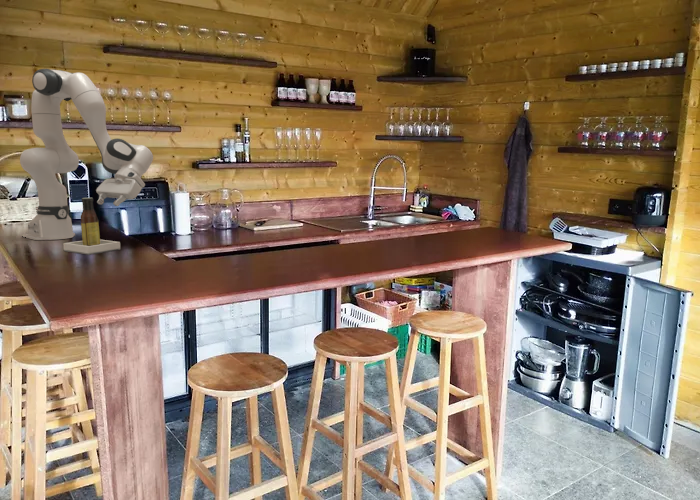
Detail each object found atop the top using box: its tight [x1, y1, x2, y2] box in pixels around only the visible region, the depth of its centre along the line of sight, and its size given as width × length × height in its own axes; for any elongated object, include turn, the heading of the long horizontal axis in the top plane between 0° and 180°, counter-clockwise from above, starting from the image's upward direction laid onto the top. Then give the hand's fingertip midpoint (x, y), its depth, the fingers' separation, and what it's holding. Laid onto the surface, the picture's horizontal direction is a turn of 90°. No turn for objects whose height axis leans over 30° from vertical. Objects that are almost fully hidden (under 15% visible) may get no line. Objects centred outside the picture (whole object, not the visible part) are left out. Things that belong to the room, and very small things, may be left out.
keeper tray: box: [62, 239, 121, 256], centre depth 225 cm, size 14×14×3 cm
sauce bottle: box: [80, 197, 101, 246], centre depth 224 cm, size 7×6×20 cm
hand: (107, 204), depth 229 cm, fingers open, 8 cm apart
